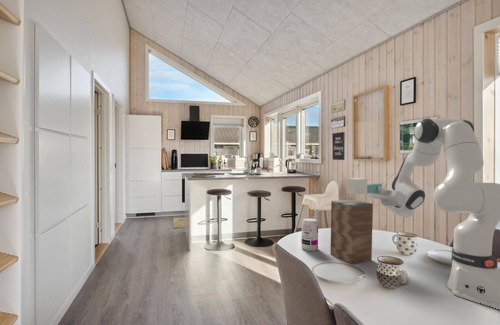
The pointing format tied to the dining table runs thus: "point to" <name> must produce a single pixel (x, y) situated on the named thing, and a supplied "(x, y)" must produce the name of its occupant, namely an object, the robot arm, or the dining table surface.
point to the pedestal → (351, 230)
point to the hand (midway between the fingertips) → (373, 187)
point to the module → (361, 186)
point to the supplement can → (309, 234)
